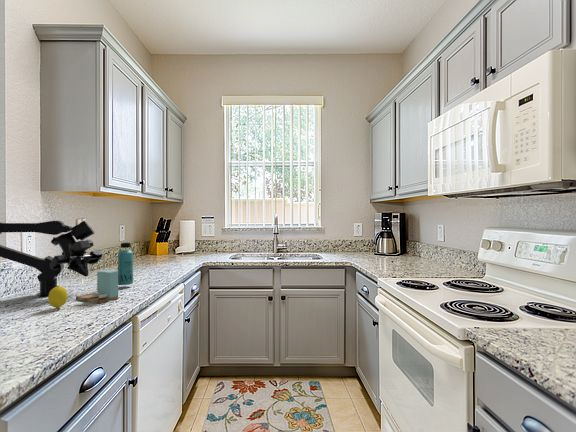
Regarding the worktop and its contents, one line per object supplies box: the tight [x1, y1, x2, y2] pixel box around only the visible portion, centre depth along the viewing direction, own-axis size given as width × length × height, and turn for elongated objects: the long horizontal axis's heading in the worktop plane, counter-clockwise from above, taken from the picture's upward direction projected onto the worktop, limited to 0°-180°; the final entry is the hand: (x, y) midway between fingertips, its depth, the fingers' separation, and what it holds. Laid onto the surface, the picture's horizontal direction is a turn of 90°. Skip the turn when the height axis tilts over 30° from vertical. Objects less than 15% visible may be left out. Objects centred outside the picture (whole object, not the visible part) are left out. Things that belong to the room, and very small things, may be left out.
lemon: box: [47, 285, 69, 310], centre depth 114 cm, size 6×6×8 cm
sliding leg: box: [92, 269, 112, 297], centre depth 127 cm, size 4×6×10 cm, turn 157°
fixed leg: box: [99, 270, 119, 298], centre depth 125 cm, size 4×6×10 cm, turn 157°
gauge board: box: [75, 292, 119, 304], centre depth 127 cm, size 14×8×1 cm, turn 67°
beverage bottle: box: [117, 242, 134, 286], centre depth 149 cm, size 6×7×20 cm
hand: (86, 275), depth 132 cm, fingers closed
